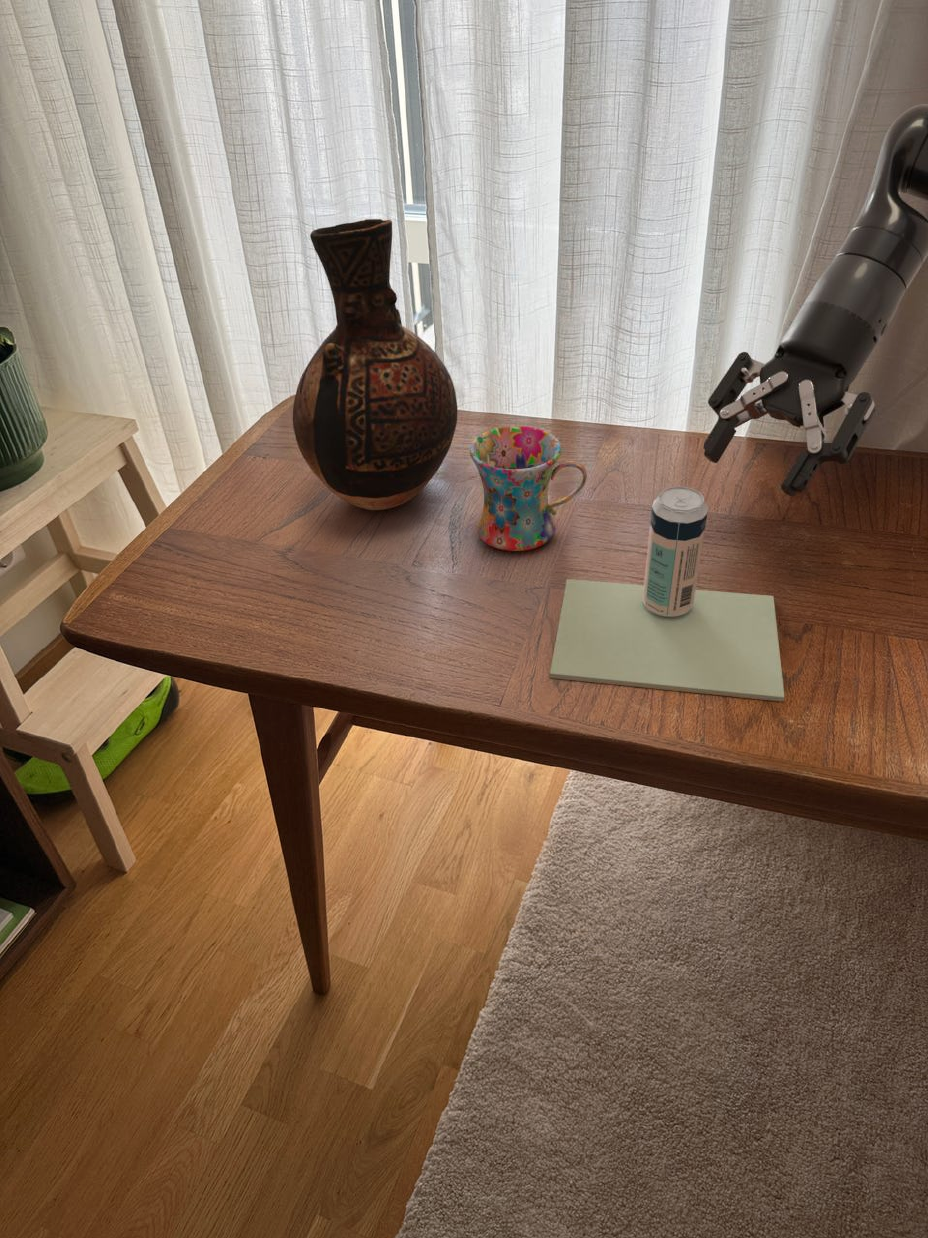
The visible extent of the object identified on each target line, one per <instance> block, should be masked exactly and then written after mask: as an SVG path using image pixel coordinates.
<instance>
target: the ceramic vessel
mask: <svg viewBox="0 0 928 1238" xmlns="http://www.w3.org/2000/svg"><path fill="white" fill-rule="evenodd" d="M309 238H310V241H311V244H312V246H313V249H314V251H315V252H316V254H317V257H318V259H319V261H320V263H321V265H322V268H323V270H324V274H325V276H326V278H327V281H328V284H329V288H330V292H331V295H332V298H333V304H334V310H335V318H336V325H335V328H334V329H333V330H332V331H331V332H330V333H329V335H328V336H326V338H325V339H324V340H323V342H322V343H321V344H320V345H319V347H318V349H317V350H316V351H315V352H314V354H313V356H312V357H311V358H310V360H309V362H308V363H307V365H306V367H305V369H304V370H303V372H302V374H301V377H300V380H299V382H298V384H297V387H296V391H295V395H294V398H293V399H294V400H293V407H292V427H293V432H294V437H295V441H296V443H297V444H296V445H297V447H298V450H299V451H300V453H301V456H302V457H303V459H304V461H305V462H306V464H307V465H308V467H309V469H310V470H311V472H312V473H313V474H314V475H315V476H316V477H317V478H318V479H319V481H321V483H322V484H323V485H324V486H325V487H326V488H327V490H329V491H330V492H332V494H334V495H336V497H338V498H340V499H341V500H343V501H345V502H347V503H348V504H350V505H352V506H354V507H357V508H361V509H364V510H367V511H382V510H389V509H392V508H395V507H398V506H402V505H404V504H405V503H407V502H409V501H410V500H412V499H413V498H415V497H416V496H417V495H418V494H420V492H421V491H422V490H423V489H424V488H425V487H426V486H427V485H428V483H429V482H430V481H431V480H432V479H433V477H434V476H435V474H436V473H437V472H438V470H439V469H440V467H441V466H442V465H443V463H444V460H445V458H446V456H447V454H448V452H449V450H450V449H451V446H452V442H453V439H454V436H455V432H456V428H457V424H458V400H457V393H456V392H457V391H456V389H455V385H454V382H453V379H452V377H451V374H450V372H449V371H448V369H447V366H446V364H444V363H443V361H442V360H441V358H440V356H439V355H438V353H437V352H436V351H434V349H433V348H432V347H431V345H429V344H428V343H427V342H426V341H425V340H423V339H422V338H421V337H420V336H418V335H417V334H416V333H414V332H413V331H411V330H410V329H409V328H407V327H406V326H404V325H403V323H402V318H401V313H400V311H399V309H398V308H397V306H396V303H397V301H398V296H397V293H396V292H395V291H394V289H393V288H392V285H391V281H390V277H391V259H392V256H391V255H392V244H393V221H392V220H391V219H386V220H383V219H381V218H368V219H364V220H358V221H353V222H345V223H340V224H336V225H334V226H327V227H319V228H317V229H313V230H312V231H311V233H310V234H309Z"/></svg>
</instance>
